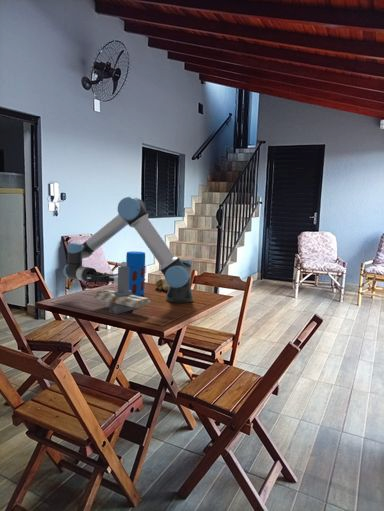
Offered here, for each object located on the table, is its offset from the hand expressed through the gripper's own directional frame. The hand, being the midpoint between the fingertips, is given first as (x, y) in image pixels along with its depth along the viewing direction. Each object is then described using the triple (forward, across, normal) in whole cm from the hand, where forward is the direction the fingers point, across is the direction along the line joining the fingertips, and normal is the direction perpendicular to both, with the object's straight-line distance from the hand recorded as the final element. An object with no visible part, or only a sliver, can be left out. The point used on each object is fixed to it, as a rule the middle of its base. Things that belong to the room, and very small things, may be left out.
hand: (119, 280), depth 180 cm
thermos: (-17, -31, -15) cm, 39 cm away
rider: (+2, 0, -8) cm, 8 cm away
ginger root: (-15, -56, -15) cm, 59 cm away
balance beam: (+1, 0, -15) cm, 15 cm away
